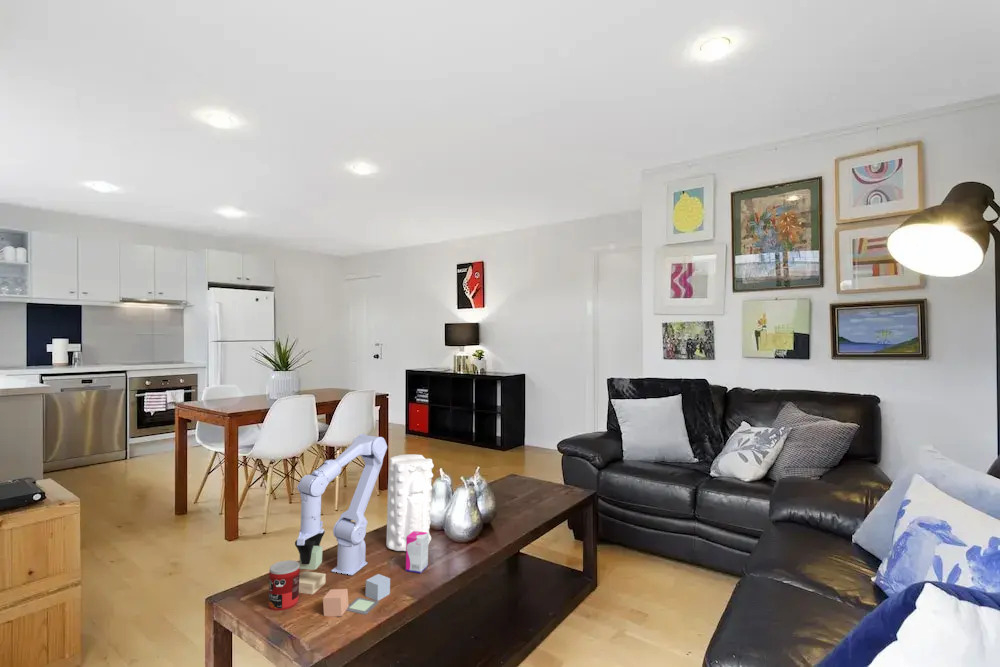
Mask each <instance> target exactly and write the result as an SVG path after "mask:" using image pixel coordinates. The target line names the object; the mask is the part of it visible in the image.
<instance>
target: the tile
mask: <svg viewBox="0 0 1000 667" xmlns="http://www.w3.org/2000/svg"><path fill="white" fill-rule="evenodd" d="M379 603H380V601H376V600H373V599H367V598H362V597H356V598H355V599H354V600H353V601H352V602H351V603H349V607H348V608H347V610H346V611H345V612H351V613H356V614H361V615H365V616H366V615H367V614H368V613H370V612H371V610H373V609H374V608H375V607H376V606H377V605H378V604H379Z"/></svg>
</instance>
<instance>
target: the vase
mask: <svg viewBox="0 0 1000 667" xmlns="http://www.w3.org/2000/svg"><path fill="white" fill-rule="evenodd" d="M434 465H435V464H434V463H433V459H432V458H426V457H424V455H423V454H414V453H413V454H408V453H407V454H398V455H394V456H391V457H390V458H389V464H388V477H387V478H388V479H387V482H388V483H387V504H386V507H387V509H386V510H387V511H386V512H387V513H386V542H385V543H386V547H387V548H388V549H390V550H393V551H396V552H406V539H407V536H408V535H409V534H411V533H412V532H413V531H419V532H427V533H429V538H428V545H429V544H430V542H431V541H432V536H431V534H430V528H431V527H430V526H431V522H432V521H431V515H430V514H431V510H432V507H431V505H432V490H433V486H432V481H433V480H432V478H433V477H434V473H433V469H434Z"/></svg>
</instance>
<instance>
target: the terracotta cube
mask: <svg viewBox="0 0 1000 667" xmlns="http://www.w3.org/2000/svg"><path fill="white" fill-rule="evenodd" d="M348 592H349V591H348V588H338V589H337V588H334V589H331V588H330V589H329V591H327V593H326V594H325V595H324V596H323V597H322V603H323V604H322V605H323V616H324V617H343V615H344V613H345V612H347V611H346V610H347V608H348V607H349V605H350V603H349V593H348Z"/></svg>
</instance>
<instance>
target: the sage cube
mask: <svg viewBox="0 0 1000 667" xmlns="http://www.w3.org/2000/svg"><path fill="white" fill-rule="evenodd" d="M298 560H299V561H298V562H299V565H300V570H317V569H318V567H319V566H320V565H321V564H322V562H323V545H319V546H313V549H312V553H311V560H310V563H309V564H302V562H301V558H300V557H299V559H298Z"/></svg>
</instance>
